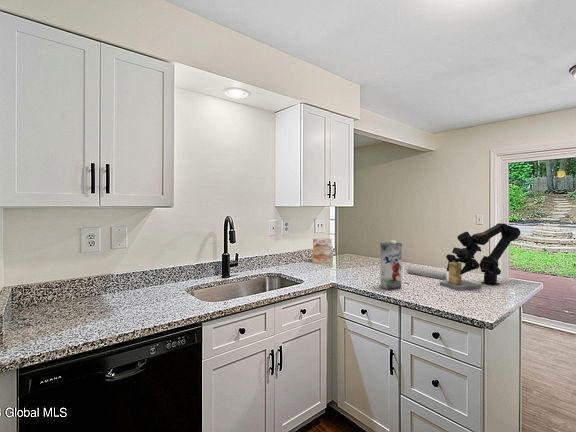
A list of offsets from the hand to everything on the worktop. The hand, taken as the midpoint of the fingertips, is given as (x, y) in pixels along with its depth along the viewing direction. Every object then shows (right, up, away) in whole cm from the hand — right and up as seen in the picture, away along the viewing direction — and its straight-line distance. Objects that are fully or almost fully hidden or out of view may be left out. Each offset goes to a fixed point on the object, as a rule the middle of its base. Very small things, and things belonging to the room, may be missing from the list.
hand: (453, 272), depth 173 cm
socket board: (+4, -8, +2) cm, 10 cm away
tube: (-2, -8, +28) cm, 29 cm away
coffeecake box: (-65, -7, +81) cm, 104 cm away
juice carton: (-35, -9, 0) cm, 37 cm away
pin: (+1, -9, +1) cm, 9 cm away
